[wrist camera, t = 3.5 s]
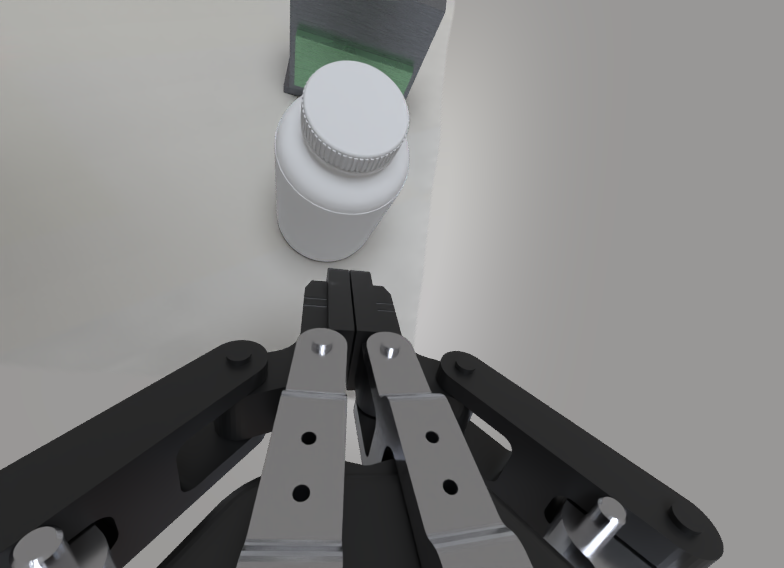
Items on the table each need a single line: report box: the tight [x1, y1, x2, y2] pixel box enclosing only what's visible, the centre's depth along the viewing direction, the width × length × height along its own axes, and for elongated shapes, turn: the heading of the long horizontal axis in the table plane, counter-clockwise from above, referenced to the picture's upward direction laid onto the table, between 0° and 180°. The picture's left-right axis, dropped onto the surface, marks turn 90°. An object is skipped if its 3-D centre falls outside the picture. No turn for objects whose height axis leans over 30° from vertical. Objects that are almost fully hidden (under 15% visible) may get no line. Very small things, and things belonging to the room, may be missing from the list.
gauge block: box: [284, 0, 446, 100], centre depth 29 cm, size 6×11×13 cm, turn 83°
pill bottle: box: [274, 61, 409, 262], centre depth 24 cm, size 8×8×15 cm
